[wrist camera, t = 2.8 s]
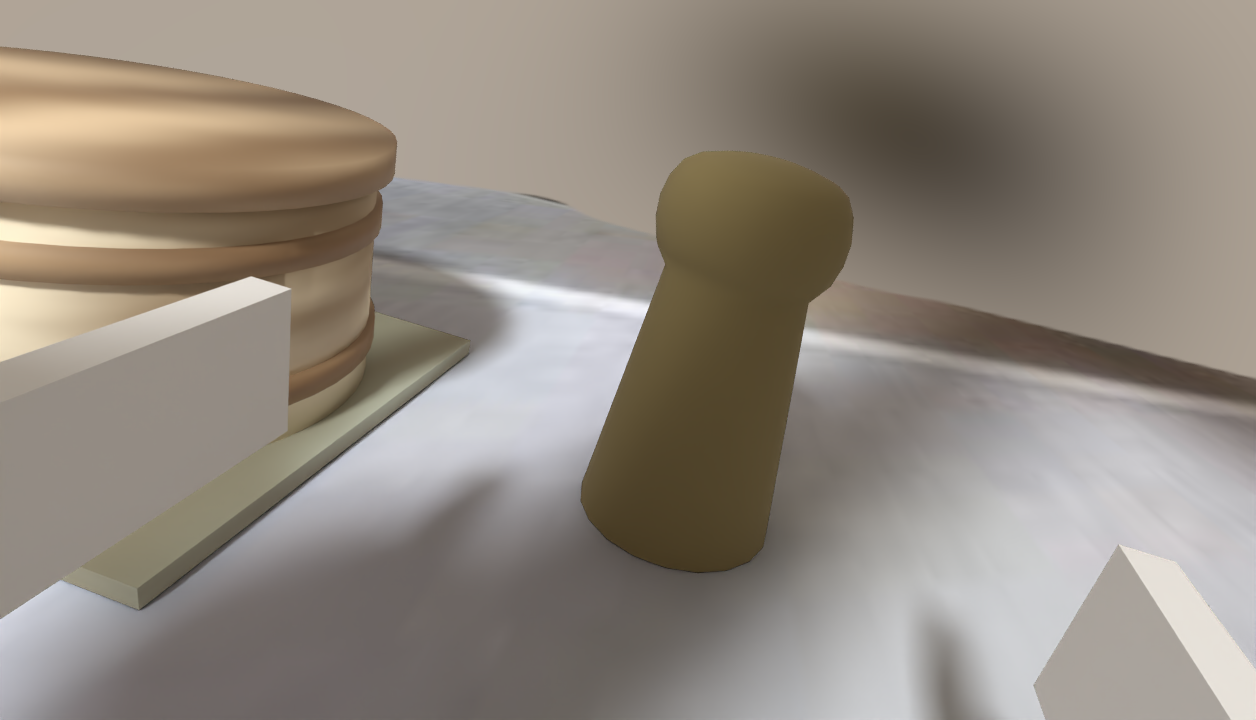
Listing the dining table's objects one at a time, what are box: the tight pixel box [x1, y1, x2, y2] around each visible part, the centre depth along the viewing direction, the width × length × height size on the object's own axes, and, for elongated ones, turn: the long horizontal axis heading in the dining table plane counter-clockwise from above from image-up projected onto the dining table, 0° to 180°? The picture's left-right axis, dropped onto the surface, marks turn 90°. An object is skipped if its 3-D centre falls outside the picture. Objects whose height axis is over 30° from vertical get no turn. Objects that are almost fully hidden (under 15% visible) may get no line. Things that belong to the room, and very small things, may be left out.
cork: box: [581, 151, 854, 573], centre depth 21 cm, size 6×6×11 cm
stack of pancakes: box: [0, 47, 470, 610], centre depth 22 cm, size 16×16×9 cm
